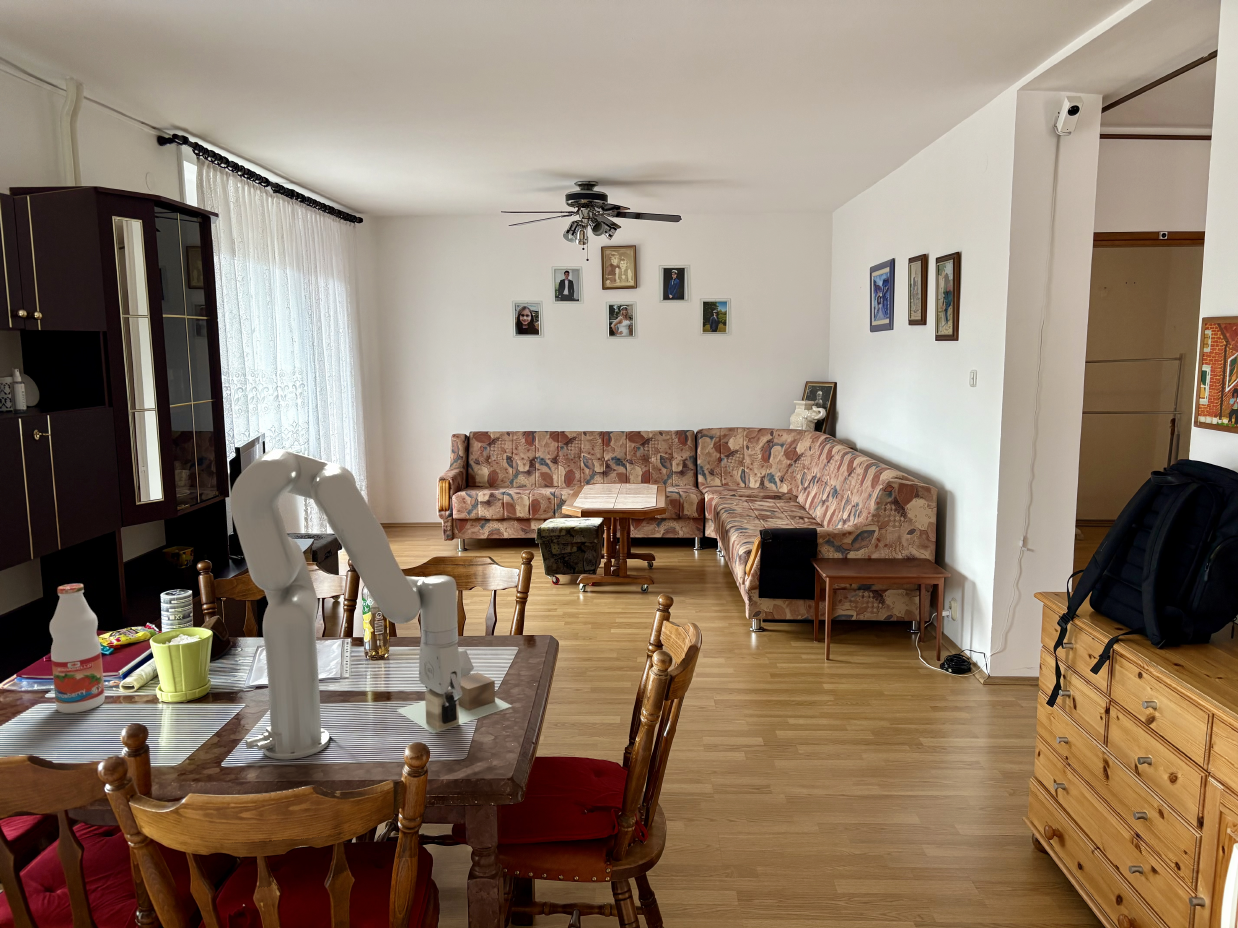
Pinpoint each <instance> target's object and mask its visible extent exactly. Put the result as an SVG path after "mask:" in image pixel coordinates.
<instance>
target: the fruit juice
mask: <svg viewBox="0 0 1238 928" xmlns="http://www.w3.org/2000/svg"><path fill="white" fill-rule="evenodd" d="M84 589H85V588H84V584H83V583H69V584H63V585H61V586H58V587H57V595H58V596H59V600H58V602H57V606H56V609H55V611H54V614H53V617H52V619H51V620H50V622H49V633H50V635H51V638H52V645H51V647H50V648H51V649H50V655H51V656H50V659H51V666H52V676H53V677H52V679H53V689H54V699H55V700H54V701H55V708H56V709H57V711H58V712H59V713H63V714H77V713H81V712H82V713H83V712H86V711H89V710H93V709H95V708H97V707H99V706H101V705H102V704H103V703H104V702H105V698H106V695H105V683H104V671H103V669H104V668H103V659H102V647H101V641H100V638H99V637H98V635H97V630H98V625H99V624H98V623H99V621H98V617H97V615H96V613H95V612H94V611H93V610H92V609H91V607H90V606H89V604H88V602H87V600H86V598H85V597H84V594H83V593H84V592H85V590H84Z"/></svg>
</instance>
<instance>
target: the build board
mask: <svg viewBox="0 0 1238 928" xmlns="http://www.w3.org/2000/svg"><path fill="white" fill-rule="evenodd" d="M509 708H512V705H511V704H509V703H507V701H506V702H505V701H503V700H501V699H500V698H497V697H496V696H495V702H493V703H491V704H488V705H485V706H482V707H479V708H476V709H473V710H470V711H468V710H466V709H465V708H463V707H461V706H459V724H456V725H453V726H450V727H447V728H444V729H441V730H437V729H435V728H434V727H432V726H430V725H429V724H427V723H426V704H425V700H423V701H420V702H418V703H414V704H410V705H408V706H405V707H401V708H398V709H395V711H396V712H398V713H399V714H401V715H403V716H405V717H406V718H407V719H409V720H411V721H412V722H414V723H415V724H417V725H419V726H420V727H422V728H423V729H425V730H427V731H428V732H429V733H431V734H433V735H434V734H437V733H439V732H443V731H445V730H448V729H451V728H454V727H457V726H459V725H462V724H465V723H468V722H472V721H474V720H477V719H479V718H483V717H485V716H488V715H491V714H494V713H497V712H500V711H502V710H505V709H509Z"/></svg>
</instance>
